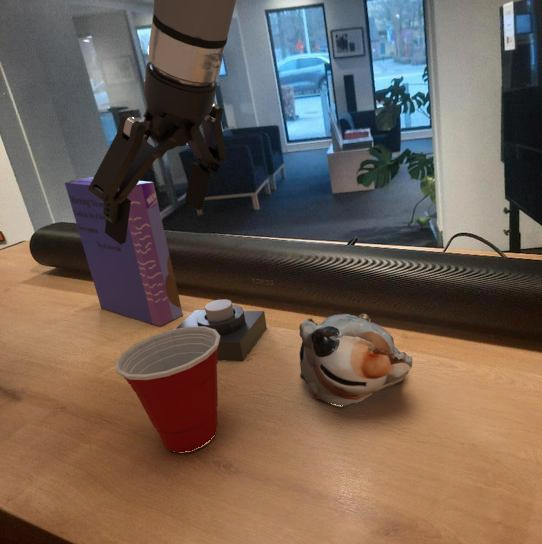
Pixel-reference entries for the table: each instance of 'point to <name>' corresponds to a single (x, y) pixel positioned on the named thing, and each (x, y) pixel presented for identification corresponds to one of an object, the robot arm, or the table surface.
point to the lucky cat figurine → (349, 358)
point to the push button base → (232, 331)
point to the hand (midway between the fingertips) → (157, 220)
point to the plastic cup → (176, 383)
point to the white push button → (219, 310)
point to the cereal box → (128, 256)
